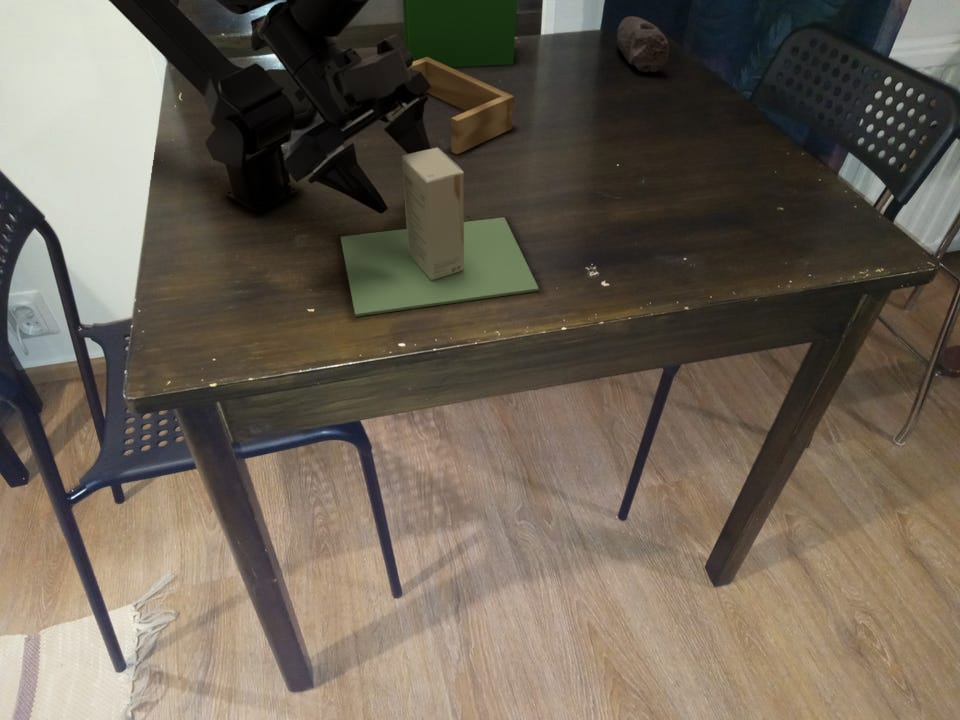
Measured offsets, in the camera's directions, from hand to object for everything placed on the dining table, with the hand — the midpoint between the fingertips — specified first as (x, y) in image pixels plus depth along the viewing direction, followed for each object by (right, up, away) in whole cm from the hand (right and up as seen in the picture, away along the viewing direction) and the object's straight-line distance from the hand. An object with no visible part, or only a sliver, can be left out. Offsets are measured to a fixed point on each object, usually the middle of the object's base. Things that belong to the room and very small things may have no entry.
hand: (410, 191), depth 74 cm
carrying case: (-21, +20, +31) cm, 43 cm away
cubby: (+1, +18, +29) cm, 34 cm away
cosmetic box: (+2, -7, +5) cm, 9 cm away
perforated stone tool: (+34, +34, +47) cm, 67 cm away
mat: (+2, -7, +5) cm, 9 cm away
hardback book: (+4, +34, +46) cm, 57 cm away
